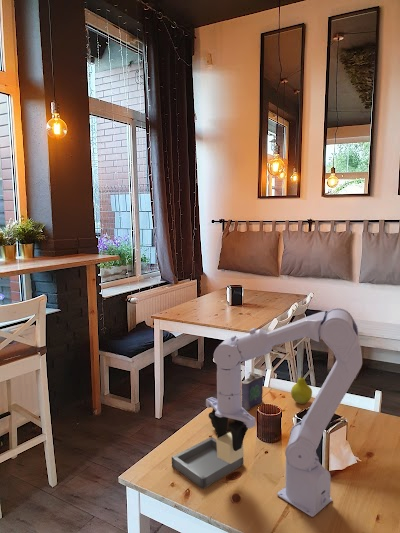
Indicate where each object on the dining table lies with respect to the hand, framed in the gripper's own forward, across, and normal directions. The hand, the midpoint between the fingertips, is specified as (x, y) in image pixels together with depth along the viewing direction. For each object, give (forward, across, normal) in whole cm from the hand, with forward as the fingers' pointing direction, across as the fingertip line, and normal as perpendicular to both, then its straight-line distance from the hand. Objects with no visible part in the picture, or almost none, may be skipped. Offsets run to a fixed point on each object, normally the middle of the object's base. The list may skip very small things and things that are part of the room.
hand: (229, 444), depth 96 cm
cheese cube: (+3, 0, 0) cm, 3 cm away
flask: (+10, -22, +33) cm, 41 cm away
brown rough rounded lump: (+10, -18, +16) cm, 26 cm away
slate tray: (+9, -8, 0) cm, 12 cm away
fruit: (+10, -12, +47) cm, 49 cm away
